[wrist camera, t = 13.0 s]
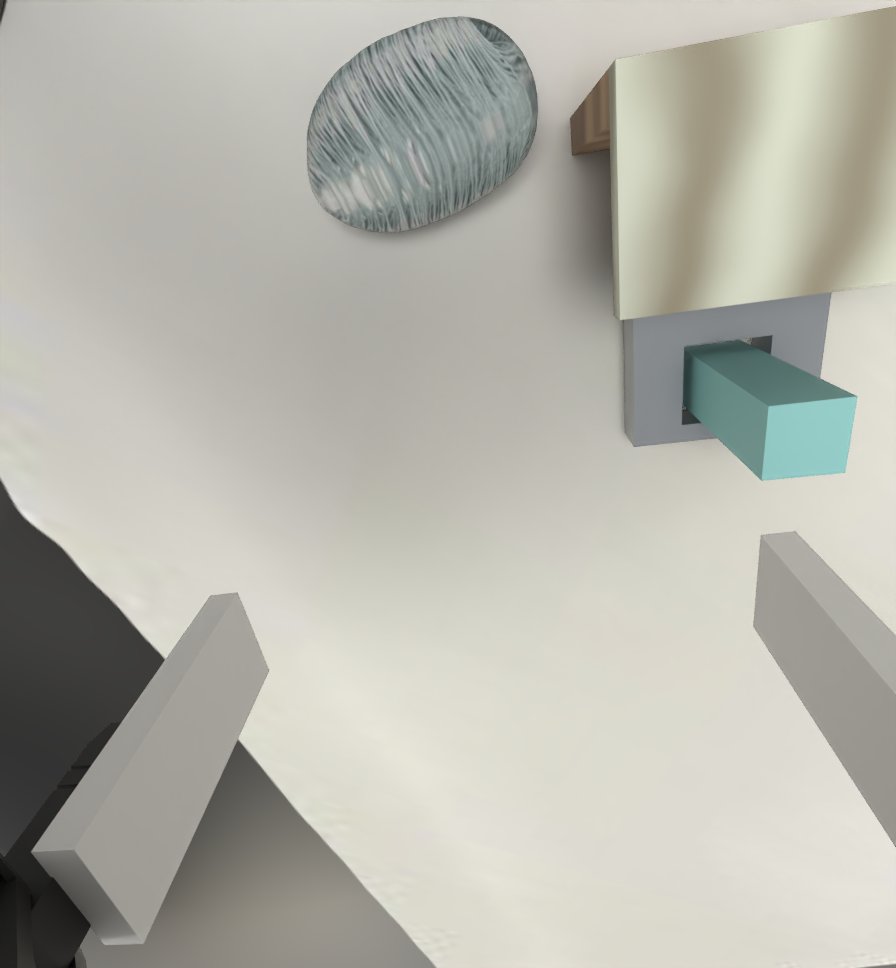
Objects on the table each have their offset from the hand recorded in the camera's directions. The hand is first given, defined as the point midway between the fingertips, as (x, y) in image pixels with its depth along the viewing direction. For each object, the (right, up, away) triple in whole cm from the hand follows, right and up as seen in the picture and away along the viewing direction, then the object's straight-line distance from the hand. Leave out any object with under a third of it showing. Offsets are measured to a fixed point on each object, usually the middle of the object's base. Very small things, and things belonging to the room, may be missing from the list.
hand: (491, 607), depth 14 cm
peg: (+18, +11, +26) cm, 34 cm away
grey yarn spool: (-2, +25, +22) cm, 33 cm away
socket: (+17, +14, +25) cm, 33 cm away
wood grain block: (+16, +22, +21) cm, 35 cm away
